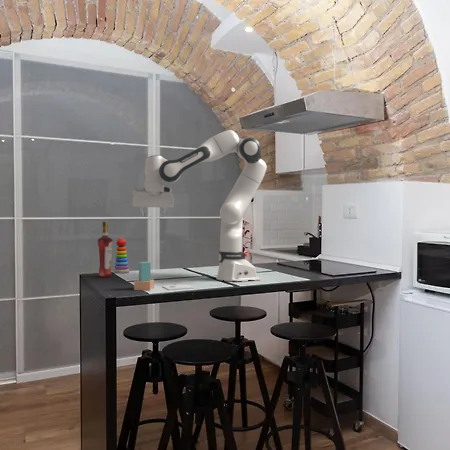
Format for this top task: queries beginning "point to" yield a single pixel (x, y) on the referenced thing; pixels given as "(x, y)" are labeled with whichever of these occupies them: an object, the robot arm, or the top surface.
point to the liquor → (105, 253)
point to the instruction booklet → (177, 287)
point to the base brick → (143, 285)
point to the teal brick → (144, 271)
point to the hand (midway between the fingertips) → (153, 216)
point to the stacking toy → (121, 257)
